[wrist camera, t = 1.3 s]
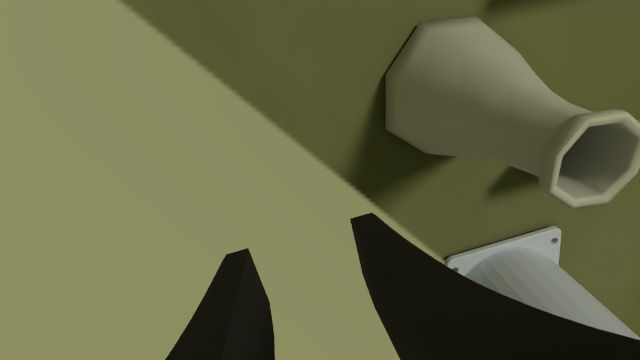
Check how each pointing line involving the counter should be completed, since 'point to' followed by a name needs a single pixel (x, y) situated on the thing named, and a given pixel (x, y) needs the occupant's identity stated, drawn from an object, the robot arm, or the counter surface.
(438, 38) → the flask
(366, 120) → the counter surface
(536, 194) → the counter surface
